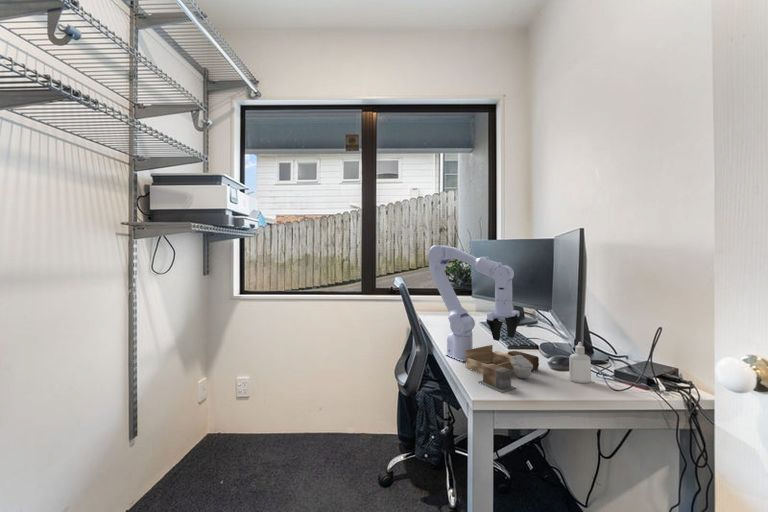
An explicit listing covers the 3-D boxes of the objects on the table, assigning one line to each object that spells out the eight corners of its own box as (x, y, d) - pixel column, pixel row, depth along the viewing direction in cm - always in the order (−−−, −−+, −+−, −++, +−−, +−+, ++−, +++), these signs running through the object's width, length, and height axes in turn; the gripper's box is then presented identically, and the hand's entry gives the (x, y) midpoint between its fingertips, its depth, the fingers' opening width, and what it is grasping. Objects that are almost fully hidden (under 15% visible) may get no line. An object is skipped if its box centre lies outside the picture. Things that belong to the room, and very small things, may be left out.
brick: (539, 370, 114) (539, 356, 114) (531, 372, 112) (531, 358, 112) (512, 361, 123) (512, 349, 123) (505, 363, 121) (505, 350, 121)
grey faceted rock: (515, 372, 112) (515, 351, 112) (536, 377, 107) (536, 355, 107) (506, 377, 107) (506, 355, 107) (528, 383, 102) (528, 360, 102)
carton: (465, 367, 116) (465, 350, 116) (496, 360, 124) (496, 343, 124) (491, 377, 107) (491, 359, 107) (523, 369, 115) (523, 351, 115)
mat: (478, 382, 103) (478, 381, 103) (491, 378, 106) (491, 377, 106) (502, 392, 95) (502, 391, 95) (516, 388, 98) (516, 387, 98)
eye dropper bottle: (589, 385, 100) (589, 345, 100) (568, 381, 104) (568, 342, 104) (591, 381, 104) (591, 342, 104) (571, 377, 107) (570, 339, 107)
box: (482, 382, 103) (482, 365, 103) (492, 379, 105) (492, 363, 105) (501, 389, 97) (501, 372, 97) (510, 387, 99) (510, 369, 99)
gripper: (498, 303, 111) (498, 344, 111) (526, 299, 119) (526, 338, 119) (482, 300, 117) (482, 339, 117) (510, 297, 125) (510, 334, 125)
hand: (503, 338), depth 118 cm, fingers open, 7 cm apart
